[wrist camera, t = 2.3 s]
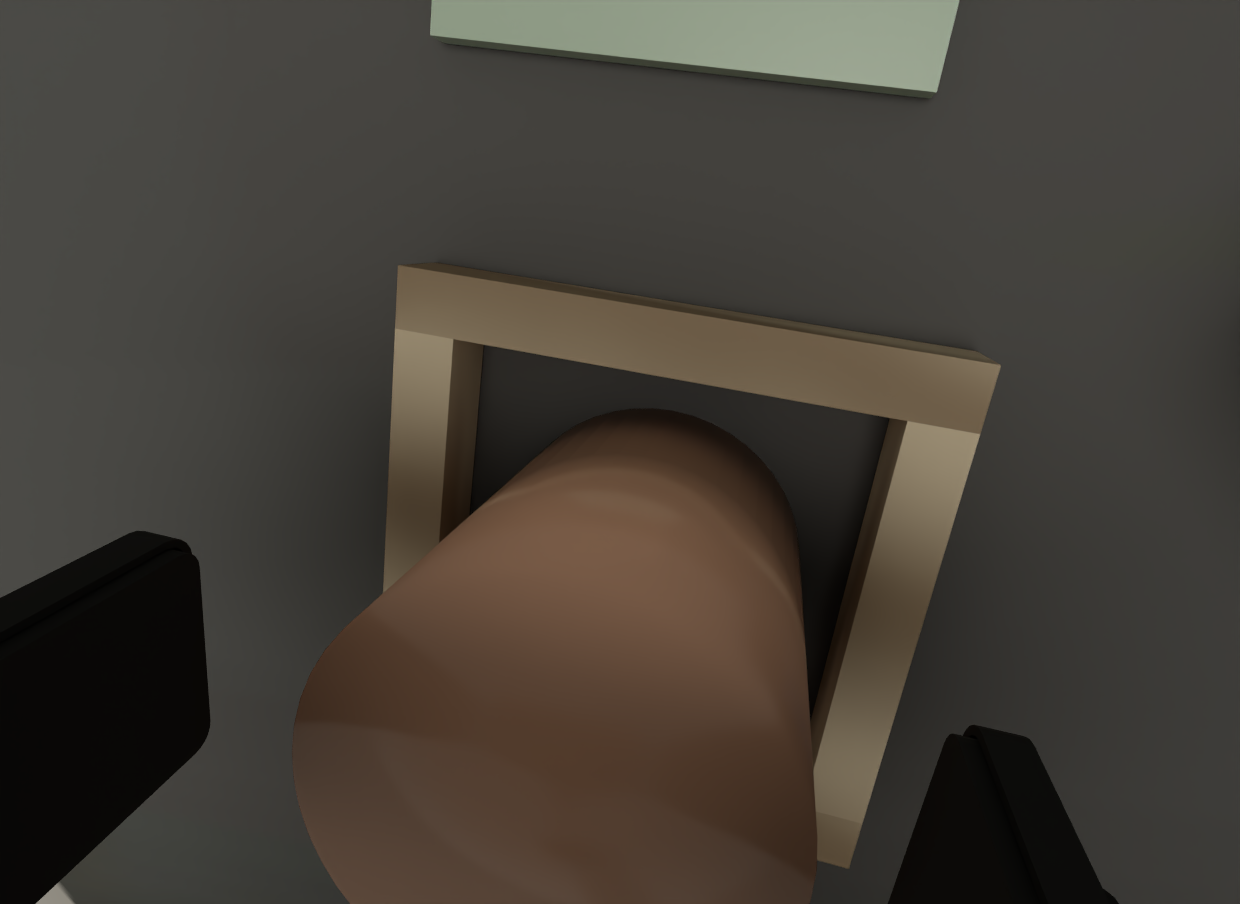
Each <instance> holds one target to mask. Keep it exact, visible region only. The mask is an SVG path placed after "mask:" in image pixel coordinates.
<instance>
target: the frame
mask: <svg viewBox="0 0 1240 904" xmlns="http://www.w3.org/2000/svg"><path fill="white" fill-rule="evenodd" d="M484 345H489V346H494V347H500V348H505V349H511V350H517V351H522V352H528V353H533V354H539V355H544V356H550V357H555V358H561V359H566V360H572V361H577V362H583V363H589V364H594V365H600V366H605V367H611V368H616V369H622V370H627V371H633V372H638V373H644V374H649V375H655V376H661V377H666V378H672V379H677V380H683V381H688V382H694V383H699V384H705V385H710V386H716V387H721V388H727V389H733V390H738V391H744V392H749V393H755V394H760V395H766V396H771V397H777V398H782V399H788V400H793V401H799V402H804V403H810V404H816V405H821V406H827V407H832V408H838V409H843V410H849V411H854V412H860V413H865V414H871V415H876V416H882V417H888V418H890V419H889V423H888V427H887V431H886V435H885V438H884V442H883V446H882V450H881V454H880V458H879V461H878V465H877V469H876V473H875V477H874V481H873V484H872V488H871V492H870V496H869V500H868V504H867V507H866V511H865V515H864V519H863V523H862V526H861V530H860V534H859V538H858V542H857V546H856V549H855V553H854V557H853V561H852V565H851V569H850V572H849V576H848V580H847V584H846V588H845V591H844V595H843V599H842V603H841V607H840V611H839V614H838V618H837V622H836V626H835V630H834V634H833V637H832V641H831V645H830V649H829V653H828V657H827V660H826V664H825V668H824V672H823V676H822V679H821V683H820V687H819V691H818V695H817V699H816V702H815V706H814V710H813V714H812V718H811V722H810V727H811V743H812V759H813V775H814V791H815V807H816V823H817V860H818V861H822V862H826V863H829V864H833V865H837V866H840V867H844V868H847V869H849V866H850V863H851V860H852V856H853V853H854V850H855V846H856V843H857V840H858V837H859V833H860V830H861V827H862V823H863V820H864V817H865V813H866V810H867V807H868V803H869V800H870V797H871V794H872V790H873V787H874V784H875V780H876V777H877V774H878V770H879V767H880V764H881V760H882V757H883V754H884V751H885V747H886V744H887V741H888V737H889V734H890V731H891V727H892V724H893V721H894V718H895V714H896V711H897V708H898V704H899V701H900V698H901V694H902V691H903V688H904V684H905V681H906V678H907V675H908V671H909V668H910V665H911V661H912V658H913V655H914V651H915V648H916V645H917V641H918V638H919V635H920V632H921V628H922V625H923V622H924V618H925V615H926V612H927V608H928V605H929V602H930V599H931V595H932V592H933V589H934V585H935V582H936V579H937V575H938V572H939V569H940V565H941V562H942V559H943V556H944V552H945V549H946V546H947V542H948V539H949V536H950V532H951V529H952V526H953V523H954V519H955V516H956V513H957V509H958V506H959V503H960V499H961V496H962V493H963V489H964V486H965V483H966V480H967V476H968V473H969V470H970V466H971V463H972V460H973V456H974V453H975V450H976V446H977V443H978V440H979V437H980V433H981V430H982V427H983V423H984V420H985V417H986V413H987V410H988V407H989V404H990V400H991V397H992V394H993V390H994V387H995V384H996V380H997V377H998V374H999V370H1000V367H1001V365H1000V364H998V363H996V362H995V361H993V360H991V359H989V358H988V357H986V356H984V355H982V354H981V353H979V352H977V351H972V350H966V349H960V348H954V347H948V346H942V345H936V344H929V343H923V342H917V341H911V340H905V339H899V338H893V337H887V336H881V335H875V334H869V333H862V332H856V331H850V330H844V329H838V328H832V327H826V326H820V325H814V324H808V323H801V322H795V321H789V320H783V319H777V318H771V317H765V316H759V315H753V314H747V313H740V312H734V311H728V310H722V309H716V308H710V307H704V306H698V305H692V304H686V303H679V302H673V301H667V300H661V299H655V298H649V297H643V296H637V295H631V294H625V293H618V292H612V291H606V290H600V289H594V288H588V287H582V286H576V285H570V284H564V283H557V282H551V281H545V280H539V279H533V278H527V277H521V276H515V275H509V274H503V273H496V272H490V271H484V270H478V269H472V268H466V267H460V266H454V265H448V264H442V263H422V264H407V265H398V279H397V301H396V322H395V344H394V366H393V388H392V409H391V431H390V453H389V475H388V496H387V518H386V540H385V562H384V583H383V593H384V592H385V591H386V590H387V589H388V588H390V587H391V586H392V585H393V584H394V583H395V582H396V581H397V580H399V579H400V578H401V577H402V576H403V575H404V574H405V573H406V572H407V571H409V570H410V569H411V568H412V567H413V566H414V565H415V564H416V563H418V562H419V561H420V560H421V559H422V558H423V557H424V556H425V555H426V554H428V553H429V552H430V551H431V550H432V549H433V548H434V547H435V546H437V545H438V544H439V543H440V542H441V541H442V540H443V539H444V538H445V537H447V536H448V535H449V534H450V533H451V532H452V531H453V530H454V529H456V528H457V527H458V526H459V525H460V524H461V523H462V522H463V521H464V520H466V519H467V518H468V517H469V515H470V503H471V491H472V479H473V467H474V455H475V443H476V431H477V419H478V407H479V395H480V383H481V371H482V359H483V347H484Z"/></svg>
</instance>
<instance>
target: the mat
mask: <svg viewBox="0 0 1240 904" xmlns="http://www.w3.org/2000/svg"><path fill="white" fill-rule="evenodd" d="M958 4H959V0H432V9H431V28H430V35H431V36H432V37H434V38H436V39H437V40H439V41H441V42H443V43H445V44H454V45H463V46H472V47H481V48H489V49H498V50H507V51H516V52H524V53H533V54H542V55H551V56H559V57H568V58H577V59H586V60H594V61H603V62H612V63H621V64H630V65H638V66H647V67H656V68H665V69H673V70H682V71H691V72H700V73H708V74H717V75H726V76H735V77H743V78H752V79H761V80H770V81H779V82H787V83H796V84H805V85H814V86H822V87H831V88H840V89H849V90H857V91H866V92H875V93H884V94H892V95H901V96H910V97H919V98H927V99H930V98H931V97H932V96H933V95H934V94H935V93H936V92H937V89H938V85H939V81H940V77H941V73H942V69H943V65H944V61H945V57H946V53H947V49H948V45H949V40H950V36H951V32H952V28H953V24H954V20H955V16H956V12H957V8H958Z"/></svg>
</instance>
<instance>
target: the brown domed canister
mask: <svg viewBox="0 0 1240 904" xmlns="http://www.w3.org/2000/svg"><path fill="white" fill-rule="evenodd" d="M292 760H293V775H294V783H295V788H296V793H297V798H298V803H299V807H300V810H301V813H302V816H303V819H304V822H305V825H306V828H307V831H308V834H309V836H310V838H311V840H312V843H313V845H314V847H315V849H316V851H317V853H318V855H319V857H320V859H321V861H322V863H323V865H324V866H325V868H326V870H327V871H328V873H329V874H330V876H331V878H332V879H333V881H334V883H335V884H336V886H337V887H338V889H339V890H340V891H341V893H342V894H343V895H344V896H345V898H346V899H347V900H348V902H349V903H350V904H809V903H810V900H811V896H812V891H813V886H814V881H815V876H816V871H817V823H816V807H815V791H814V775H813V759H812V743H811V727H810V712H809V696H808V680H807V664H806V648H805V632H804V616H803V600H802V584H801V568H800V553H799V542H798V534H797V527H796V524H795V520H794V517H793V513H792V509H791V507H790V505H789V503H788V500H787V498H786V496H785V493H784V491H783V490H782V488H781V486H780V485H779V483H778V481H777V480H776V478H775V477H774V475H773V474H772V472H771V471H770V470H769V469H768V468H767V466H766V465H765V464H764V463H763V461H762V460H761V459H760V458H759V457H758V456H757V455H756V454H755V453H754V452H753V451H752V450H751V449H749V448H748V447H747V446H746V445H745V444H744V443H742V442H741V441H739V440H738V439H737V438H735V437H734V436H733V435H731V434H730V433H728V432H726V431H725V430H723V429H721V428H719V427H717V426H715V425H714V424H712V423H709V422H707V421H704V420H702V419H699V418H697V417H694V416H691V415H687V414H683V413H679V412H675V411H670V410H661V409H653V408H651V409H627V410H620V411H613V412H610V413H606V414H603V415H599V416H596V417H593V418H591V419H589V420H586V421H584V422H582V423H579V424H578V425H576V426H574V427H573V428H571V429H569V430H568V431H566V432H564V433H563V434H562V435H560V436H559V437H558V438H557V439H556V440H554V441H553V442H552V443H551V444H549V445H548V446H547V447H546V448H545V449H544V450H543V451H542V452H541V453H539V454H538V455H537V456H536V457H535V458H534V459H533V460H532V461H530V462H529V463H528V464H527V465H526V466H525V467H524V468H523V469H522V470H520V471H519V472H518V473H517V474H516V475H515V476H514V477H513V478H511V479H510V480H509V481H508V482H507V483H506V484H505V485H504V486H502V487H501V488H500V489H499V490H498V491H497V492H496V493H495V494H494V495H492V496H491V497H490V498H489V499H488V500H487V501H486V502H485V503H483V504H482V505H481V506H480V507H479V508H478V509H477V510H476V511H475V512H473V513H472V514H471V515H470V516H469V517H468V518H467V519H466V520H464V521H463V522H462V523H461V524H460V525H459V526H458V527H457V528H456V529H454V530H453V531H452V532H451V533H450V534H449V535H448V536H447V537H445V538H444V539H443V540H442V541H441V542H440V543H439V544H438V545H437V546H435V547H434V548H433V549H432V550H431V551H430V552H429V553H428V554H426V555H425V556H424V557H423V558H422V559H421V560H420V561H419V562H418V563H416V564H415V565H414V566H413V567H412V568H411V569H410V570H409V571H407V572H406V573H405V574H404V575H403V576H402V577H401V578H400V579H399V580H397V581H396V582H395V583H394V584H393V585H392V586H391V587H390V588H388V589H387V590H386V591H385V592H384V593H383V594H382V595H381V596H379V597H378V598H377V599H376V600H375V601H374V602H373V603H372V604H371V605H369V606H368V607H367V608H366V609H365V610H364V611H363V612H362V613H360V614H359V615H358V616H357V617H356V618H355V619H354V620H353V621H352V622H350V623H349V624H348V625H347V626H346V627H345V628H344V629H343V630H342V631H341V632H340V633H339V635H338V636H337V637H336V638H335V639H334V640H333V641H332V642H331V644H330V645H329V646H328V647H327V648H326V649H325V651H324V652H323V654H322V656H321V657H320V659H319V660H318V662H317V664H316V665H315V667H314V668H313V670H312V672H311V674H310V676H309V678H308V681H307V683H306V686H305V688H304V690H303V693H302V695H301V698H300V702H299V706H298V710H297V714H296V719H295V723H294V733H293V745H292Z"/></svg>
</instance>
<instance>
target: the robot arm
mask: <svg viewBox="0 0 1240 904" xmlns="http://www.w3.org/2000/svg"><path fill="white" fill-rule="evenodd" d="M209 728H210V709H209V695H208V680H207V666H206V652H205V638H204V623H203V609H202V595H201V580H200V567H199V562H198V560H197V558H196V557H195V556H194V555H192V552H191V549H190V547H189V546H188V544H187V543H186V542H184V541H182V540H180V539H176V538H171V537H167V536H163V535H159V534H154V533H150V532H146V531H135V532H132V533H129V534H127V535H125V536H123V537H121V538H119V539H117V540H115V541H113V542H111V543H109V544H107V545H105V546H103V547H101V548H99V549H97V550H95V551H93V552H91V553H89V554H87V555H85V556H83V557H81V558H79V559H77V560H75V561H73V562H71V563H69V564H67V565H65V566H63V567H61V568H59V569H57V570H55V571H53V572H51V573H49V574H47V575H45V576H43V577H41V578H39V579H37V580H35V581H33V582H31V583H29V584H27V585H25V586H23V587H21V588H19V589H17V590H15V591H13V592H11V593H9V594H7V595H5V596H3V597H1V598H0V904H36V902H38V901H39V900H40V899H41V898H42V897H43V896H44V895H45V894H46V893H47V892H48V891H49V890H51V889H52V888H53V887H54V886H55V885H56V884H57V883H58V882H59V881H60V880H61V879H62V878H63V877H64V876H65V875H67V874H68V873H69V872H70V871H71V870H72V869H73V868H74V867H75V866H76V865H77V864H78V863H79V862H80V861H81V860H83V859H84V858H85V857H86V856H87V855H88V854H89V853H90V852H91V851H92V850H93V849H94V848H95V847H96V846H97V845H99V844H100V843H101V842H102V841H103V840H104V839H105V838H106V837H107V836H108V835H109V834H110V833H111V832H112V831H113V830H115V829H116V828H117V827H118V826H119V825H120V824H121V823H122V822H123V821H124V820H125V819H126V818H127V817H128V816H129V815H130V814H132V813H133V812H134V811H135V810H136V809H137V808H138V807H139V806H140V805H141V804H142V803H143V802H144V801H145V800H146V799H148V798H149V797H150V796H151V795H152V794H153V793H154V792H155V791H156V790H157V789H158V788H159V787H160V786H161V785H162V784H164V783H165V782H166V781H167V780H168V779H169V778H170V777H171V776H172V775H173V774H174V773H175V772H176V771H177V770H178V769H180V768H181V767H182V766H183V765H184V764H185V763H186V762H187V761H188V760H189V759H190V758H191V757H192V756H193V755H194V754H195V753H196V752H197V751H198V750H199V749H200V748H201V746H202V745H203V743H204V742H205V739H206V737H207V735H208V732H209ZM888 904H1118V902H1117V900H1116V899H1115V898H1114V897H1113V896H1112V895H1111V894H1109V893H1108V892H1107V891H1106V890H1105V889H1103V888H1102V886H1101V884H1100V882H1099V880H1098V878H1097V876H1096V874H1095V872H1094V869H1093V867H1092V865H1091V863H1090V861H1089V859H1088V857H1087V855H1086V853H1085V851H1084V849H1083V846H1082V844H1081V842H1080V840H1079V838H1078V836H1077V834H1076V832H1075V830H1074V828H1073V826H1072V823H1071V821H1070V819H1069V817H1068V815H1067V813H1066V811H1065V809H1064V807H1063V805H1062V803H1061V800H1060V798H1059V796H1058V794H1057V792H1056V790H1055V788H1054V786H1053V784H1052V782H1051V780H1050V777H1049V775H1048V773H1047V771H1046V769H1045V767H1044V765H1043V763H1042V761H1041V759H1040V757H1039V754H1038V752H1037V750H1036V748H1035V746H1034V745H1033V743H1032V742H1031V740H1030V739H1028V738H1026V737H1024V736H1020V735H1016V734H1011V733H1007V732H1003V731H999V730H994V729H990V728H986V727H981V726H977V725H971V726H969V727H968V728H967V729H966V731H965V732H964V735H963V736H961V735H957V734H950V735H949V736H948V737H947V738H946V741H945V743H944V745H943V748H942V751H941V754H940V757H939V760H938V762H937V765H936V768H935V771H934V774H933V777H932V779H931V782H930V785H929V788H928V791H927V794H926V797H925V799H924V802H923V805H922V808H921V811H920V814H919V817H918V819H917V822H916V825H915V828H914V831H913V834H912V837H911V839H910V842H909V845H908V848H907V851H906V854H905V856H904V859H903V862H902V865H901V868H900V871H899V874H898V876H897V879H896V882H895V885H894V888H893V891H892V894H891V896H890V899H889V902H888Z"/></svg>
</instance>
